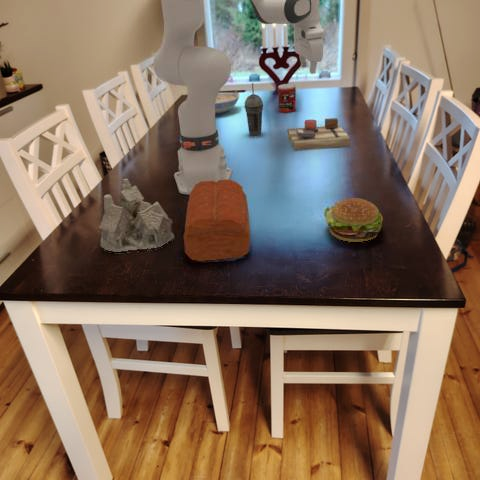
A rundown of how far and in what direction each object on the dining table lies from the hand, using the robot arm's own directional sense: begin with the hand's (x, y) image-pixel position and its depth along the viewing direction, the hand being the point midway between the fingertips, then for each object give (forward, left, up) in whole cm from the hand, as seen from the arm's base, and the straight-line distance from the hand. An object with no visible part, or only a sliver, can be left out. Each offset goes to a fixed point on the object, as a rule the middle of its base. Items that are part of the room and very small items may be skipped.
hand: (308, 70), depth 167 cm
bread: (-71, +35, -24) cm, 83 cm away
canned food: (+36, +3, -24) cm, 44 cm away
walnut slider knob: (-4, -8, -20) cm, 22 cm away
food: (-76, +3, -24) cm, 80 cm away
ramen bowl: (+43, +35, -24) cm, 61 cm away
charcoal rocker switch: (-12, +3, -19) cm, 23 cm away
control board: (-8, -2, -24) cm, 25 cm away
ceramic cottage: (-71, +56, -24) cm, 94 cm away
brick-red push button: (-5, 0, -20) cm, 20 cm away
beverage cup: (+5, +20, -24) cm, 32 cm away
